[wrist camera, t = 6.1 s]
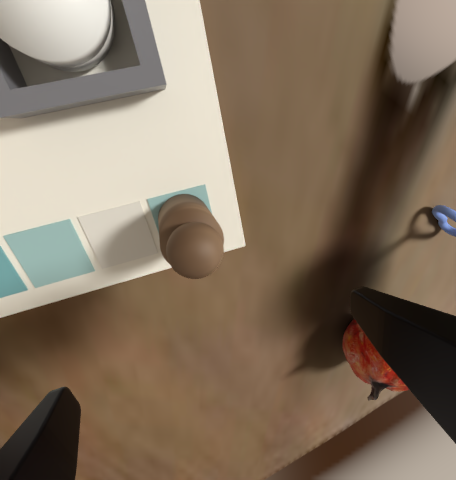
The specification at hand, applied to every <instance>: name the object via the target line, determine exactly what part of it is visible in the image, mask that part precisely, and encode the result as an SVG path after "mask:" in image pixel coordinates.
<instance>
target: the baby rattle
mask: <svg viewBox="0 0 456 480" xmlns="http://www.w3.org/2000/svg"><path fill="white" fill-rule="evenodd" d="M432 214H433V215H434V217H435V218H436V219H437V220H438V224H439V226H440V227H441V229H443V230H444V231H445V232H446V233H448V234H450V235H452V236H455V237H456V229H455V228H453V227H452V226H450V225H449V224H448V223H447V217H449V218H451V219H452V220H454V221H455V222H456V211H454V210H453V209H451V208H449V207H446V206H442V205H438V206H435V207H434V208H433V209H432ZM445 215H446V216H447V217H446V216H445Z"/></svg>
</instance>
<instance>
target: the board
mask: <svg viewBox="0 0 456 480" xmlns="http://www.w3.org/2000/svg"><path fill="white" fill-rule="evenodd" d="M111 2H112V5H113V9H114V14H115V36H114V41H113V44H112V47H111V49H110V51H109V53H108V54H107V56H106V57H105V58H104V59H103V60H102V61H101V62H100V63H99V64H98V65H96V66H95V67H93V68H91V69H88V70H85V71H80V72H67V71H61V70H58V69H55V68H52V67H50V66H47V65H45V64H44V63H42V62H40V61H38V60H36V59H34V58H32V57H30V56H28V55H26V54H24V53H22V52H20V51H18V50H17V49H15V48H13V47H11V46H10V45H9V44H8V45H9V47H10V49H11V51H12V53H13V56H14V58H15V60H16V62H17V64H18V67H19V69H20V71H21V73H22V75H23V78H24V80H25V82H26V84H27V86H33V85H38V84H44V83H49V82H54V81H60V80H65V79H70V78H75V77H81V76H86V75H91V74H97V73H102V72H107V71H112V70H118V69H123V68H128V67H134V66H139V65H140V62H139V59H138V55H137V52H136V48H135V45H134V41H133V38H132V34H131V31H130V27H129V24H128V20H127V17H126V13H125V10H124V6H123V3H122V0H111ZM145 2H146V6H147V10H148V14H149V18H150V22H151V25H152V29H153V33H154V37H155V41H156V45H157V49H158V53H159V57H160V60H161V64H162V68H163V72H164V76H165V80H166V84H167V85H166V88H165V89H164V90H159V91H154V92H149V93H144V94H139V95H134V96H129V97H124V98H119V99H115V100H110V101H105V102H100V103H95V104H90V105H85V106H80V107H75V108H70V109H65V110H60V111H56V112H51V113H46V114H41V115H36V116H31V117H26V118H0V318H1V317H5V316H8V315H12V314H15V313H18V312H22V311H25V310H29V309H32V308H35V307H39V306H42V305H46V304H49V303H53V302H56V301H59V300H63V299H66V298H70V297H73V296H76V295H80V294H83V293H87V292H90V291H93V290H97V289H100V288H104V287H107V286H110V285H114V284H117V283H121V282H124V281H128V280H131V279H134V278H138V277H141V276H145V275H148V274H151V273H155V272H158V271H162V270H165V269H168V268H172V267H171V265H170V264H169V263H168V262H167V261H166V260H165V259H164V257H163V255H162V253H161V250H160V241H159V226H158V214H159V211H160V208H161V207H162V205H163V204H164V203H165V201H167V200H168V199H169V198H171V197H173V196H175V195H178V194H190V195H194V196H196V197H198V198H199V199H201V200H202V201H203V202H204V203H205V205H206V206H207V208H208V209H209V210H210V212H211V213H212V215H213V216H214V218H215V219H216V221H217V222H218V224H219V225H220V227H221V229H222V231H223V235H224V245H223V247H224V252H226V251H230V250H233V249H237V248H240V247H243V246H246V245H245V240H244V235H243V229H242V224H241V219H240V213H239V208H238V203H237V198H236V192H235V187H234V182H233V176H232V171H231V166H230V160H229V155H228V150H227V144H226V139H225V134H224V128H223V123H222V118H221V113H220V107H219V102H218V97H217V91H216V86H215V81H214V75H213V70H212V65H211V59H210V54H209V49H208V43H207V38H206V33H205V28H204V22H203V17H202V12H201V6H200V1H199V0H145Z"/></svg>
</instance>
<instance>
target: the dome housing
mask: <svg viewBox="0 0 456 480" xmlns="http://www.w3.org/2000/svg"><path fill="white" fill-rule="evenodd" d="M122 3H123V6H124V10H125V13H126V17H127V20H128V24H129V27H130V31H131V34H132V38H133V41H134V45H135V48H136V52H137V55H138V59H139V62H140V65H139V66H134V67H128V68H123V69H118V70H112V71H107V72H102V73H97V74H91V75H86V76H81V77H75V78H70V79H65V80H60V81H54V82H49V83H44V84H38V85H33V86H27V84H26V82H25V80H24V78H23V75H22V73H21V71H20V69H19V67H18V64H17V62H16V60H15V58H14V56H13V53H12V51H11V49H10V47H9V45H8V44H7V43H6V42H4V41H3V40H2V39H1V38H0V118H26V117H31V116H36V115H41V114H46V113H51V112H56V111H60V110H65V109H70V108H75V107H80V106H85V105H90V104H95V103H100V102H105V101H110V100H115V99H119V98H124V97H129V96H134V95H139V94H144V93H149V92H154V91H159V90H164V89H165V88H166V85H167V84H166V80H165V76H164V72H163V68H162V64H161V60H160V57H159V53H158V49H157V45H156V41H155V37H154V33H153V29H152V25H151V22H150V18H149V14H148V10H147V6H146V2H145V0H122Z"/></svg>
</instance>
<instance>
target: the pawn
mask: <svg viewBox="0 0 456 480" xmlns="http://www.w3.org/2000/svg"><path fill="white" fill-rule="evenodd" d="M158 226H159V241H160V250H161V253H162V255H163V257H164V259H165V260H166V261H167V262H168V263H169V264H170V265H171V267H172V268H173V269H174V270H175V271H176V272H177V273H178V274H180V275H181V276H184V277H186V278H191V279H199V278H203V277H206V276H208V275H210V274H212V273H213V272H214V271H215V270H216V269H217V268H218V267H219V265H220V263H221V261H222V258H223V254H224V247H223V245H224V235H223V231H222V229H221V227H220V225H219V224H218V222H217V221H216V219H215V218H214V216H213V215H212V213H211V212H210V210H209V209H208V208H207V206H206V205H205V203H204V202H203V201H202V200H201V199H199V198H198V197H196V196H194V195H190V194H178V195H175V196H173V197H171V198H169V199H168V200H167V201H165V203H164V204H163V205H162V207H161V208H160V211H159V214H158Z"/></svg>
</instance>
